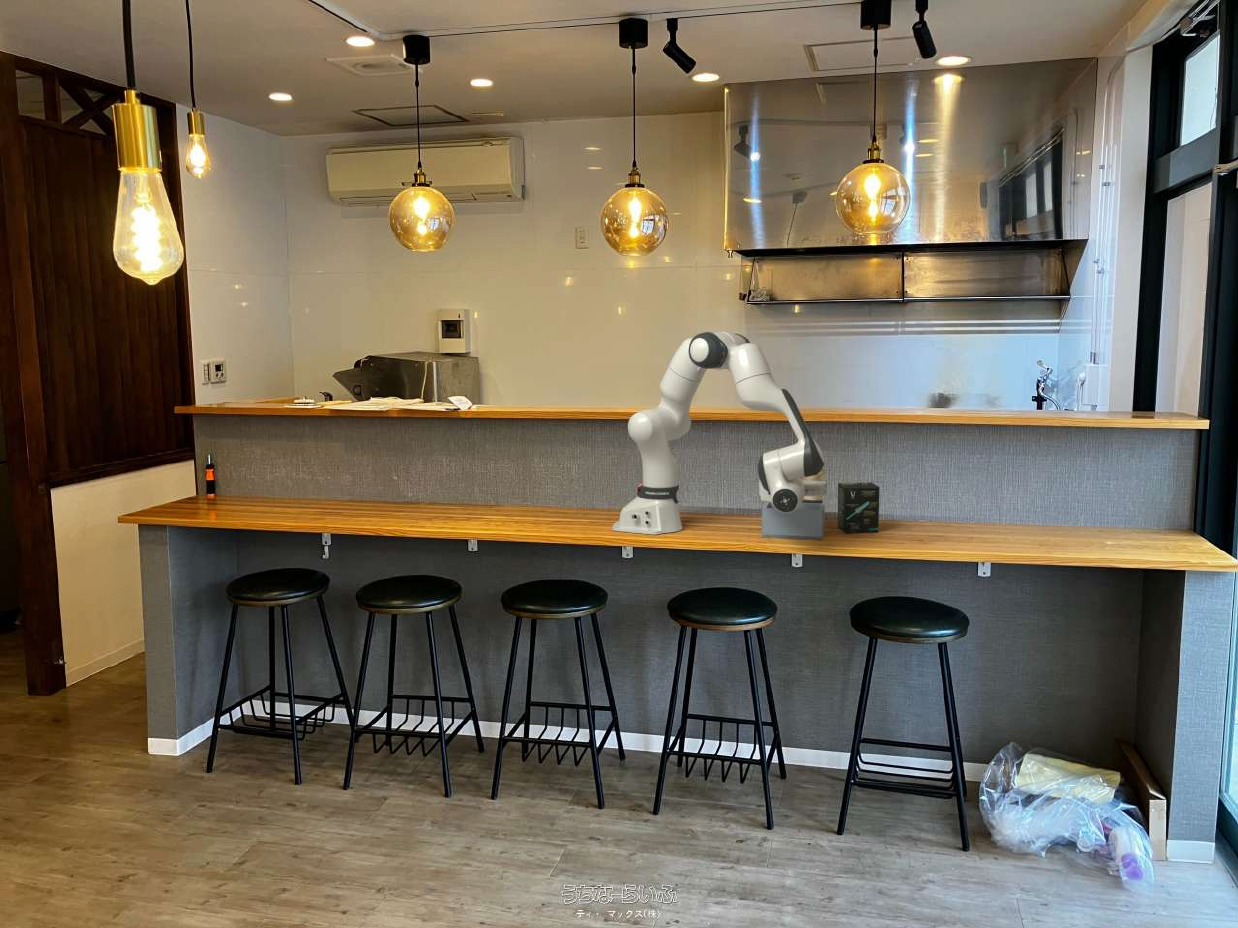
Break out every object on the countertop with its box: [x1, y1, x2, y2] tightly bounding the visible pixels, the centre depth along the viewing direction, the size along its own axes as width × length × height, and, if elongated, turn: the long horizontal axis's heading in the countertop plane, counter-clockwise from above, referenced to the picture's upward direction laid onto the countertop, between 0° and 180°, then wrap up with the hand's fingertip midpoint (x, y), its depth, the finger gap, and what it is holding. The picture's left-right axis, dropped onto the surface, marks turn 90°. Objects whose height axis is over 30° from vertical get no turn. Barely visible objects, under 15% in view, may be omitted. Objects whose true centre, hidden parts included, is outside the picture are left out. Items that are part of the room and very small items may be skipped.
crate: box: [761, 501, 826, 541], centre depth 295 cm, size 18×12×9 cm, turn 74°
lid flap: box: [800, 468, 826, 504], centre depth 307 cm, size 17×1×17 cm
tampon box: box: [837, 481, 880, 534], centre depth 300 cm, size 11×9×15 cm
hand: (794, 483), depth 292 cm, fingers closed
